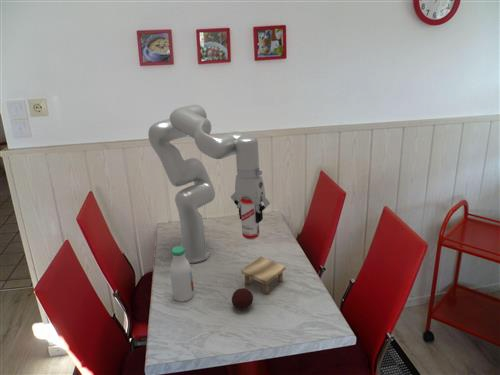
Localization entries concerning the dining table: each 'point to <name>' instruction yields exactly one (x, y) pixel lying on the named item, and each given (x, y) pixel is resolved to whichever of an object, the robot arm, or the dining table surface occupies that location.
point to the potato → (242, 298)
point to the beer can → (249, 219)
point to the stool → (263, 272)
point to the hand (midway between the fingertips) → (250, 219)
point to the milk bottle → (181, 275)
